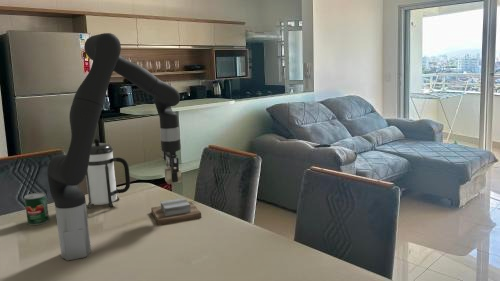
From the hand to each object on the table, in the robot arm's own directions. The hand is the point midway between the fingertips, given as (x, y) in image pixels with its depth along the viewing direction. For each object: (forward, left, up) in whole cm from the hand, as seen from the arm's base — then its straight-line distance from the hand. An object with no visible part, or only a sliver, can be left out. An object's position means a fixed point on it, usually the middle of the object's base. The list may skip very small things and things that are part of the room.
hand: (173, 179), depth 173 cm
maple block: (0, 0, -1) cm, 1 cm away
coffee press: (+29, +25, -15) cm, 41 cm away
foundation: (0, 0, -15) cm, 15 cm away
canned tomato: (+19, +52, -15) cm, 57 cm away
